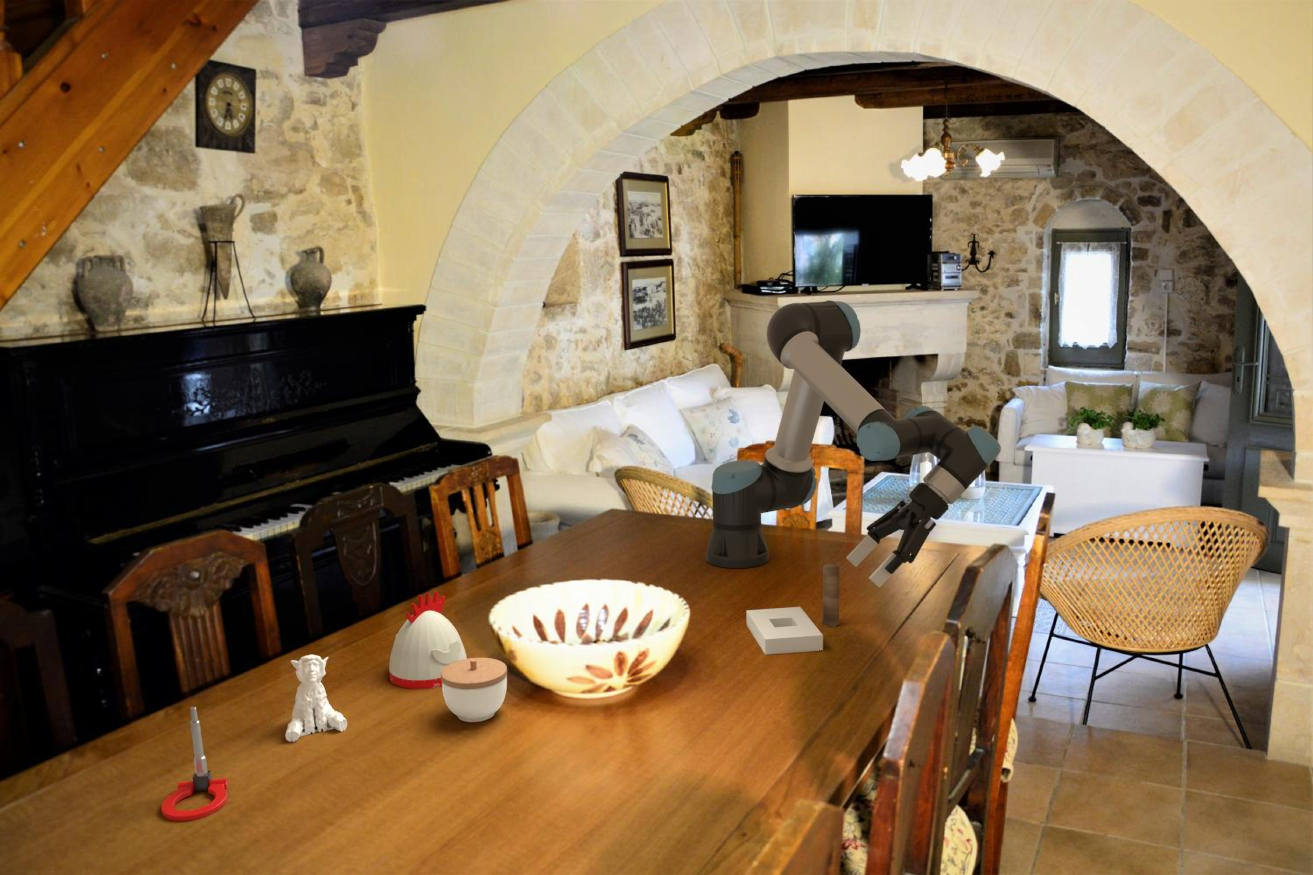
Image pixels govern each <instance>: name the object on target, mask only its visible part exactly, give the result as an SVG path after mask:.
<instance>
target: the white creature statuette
mask: <svg viewBox="0 0 1313 875" xmlns="http://www.w3.org/2000/svg"><path fill="white" fill-rule="evenodd" d="M328 659H329V656H327V657H325V658H323V659H322V657H321V656H319V655H316V654H309V655H303V656H301V657H300V659H298V660H293V659H291V660H290V663H291V664H292V665H293V668H295V669H296V670H295V674H296V677H297V679H298V681H299V682H300V685H298V686H297V689H296V690H297V691H296V695H295V697H294V699H295V701H294V702H295V703H294V705H293V709H292V714H291V715H292V718H291V720H290V722H288V724H287V728H286V730H285V735H284V736H285V739H286V741H288V742H293V743H295V742H296V741H298V740H299V738H300V737H305V736H309V735H311V733H312V734H315V733H316V732H319V733H322V731H323V732H326V731H330V730H336V731H339V732H341V733H342V732H343V731H346V729H347V727H348V721H347V719H346V717H344V715H343V714H342V713H341V712H339V711H337V710H335V709H334V708H333V707H332V705H331V704H330V702H329V700H328V698H327V696H328V695H327V693H326V692H327V691H326V689H325V687H324V685H323V683H322V682H321V681H322V679H323V677H325V675H327V672H326V670H325V669H326V665H327V661H328ZM316 727H317V729H316Z"/></svg>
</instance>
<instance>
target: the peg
mask: <svg viewBox="0 0 1313 875" xmlns="http://www.w3.org/2000/svg"><path fill="white" fill-rule="evenodd" d="M823 624H824V625H826V626H837V625H839V626H840V565H838V564H835V563H834V564H833V563H829V564H824V565H823V566H822V625H823ZM824 625H823V626H824ZM826 626H825V627H826ZM837 627H838V626H837Z"/></svg>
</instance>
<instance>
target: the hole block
mask: <svg viewBox="0 0 1313 875" xmlns="http://www.w3.org/2000/svg"><path fill="white" fill-rule="evenodd" d="M745 614H746V626H747V628H748V629H749V631H750V633H751V634H752V636H753V637H754V639H755V641H756V642H757V644H758V645H759V647H760V648H761V650H762V652H763V653H764V655H779V654H781V655H782V654H790V653H791V654H794V653H805V652H808V653H809V652H820V651H821V650H822V651H824V635H823V633H822V632H821V631H820V630H819V629H818V627H817V626H816V625H815V623H814V622H813V621H812V620H811V618H810V617H809V616H808V615H807V614H806V612H805V611H804V610H803V608H802V607H801V606H796V607H795V606H793V607H780V608H776V607H775V608H762V609H750V610H746V612H745ZM819 650H820V651H819Z"/></svg>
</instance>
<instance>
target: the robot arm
mask: <svg viewBox="0 0 1313 875" xmlns="http://www.w3.org/2000/svg"><path fill="white" fill-rule="evenodd" d="M860 338H861V323H860V320H859V318H858V314H857V312H856V311H855V309H854V308H853V307H852V306H851V305H850V304H848V303H847V302H845V301H840V300H830V299H829V300H824V301H815V302H814V301H813V302H793V303H788V304H785V305H783V306H782V307H780V308H779V309H777V310H776V311H775V312H774V313H773V314H772V316H771V318H770V319H769V321H768V324H767V327H766V339H767V340H766V341H767V343H768V348H769V349H770V352H771V353H772V355H773V356H774V357H775V359H776V360H777V361H778V362H779V363H780V364H781V365H782V366H783V368H785V369H787V370H788V369H789V370H793V373H792V376H791V380H790V384H789V388H788V391H787V396H786V400H785V403H784V407H783V410H782V415H781V418H780V422H779V425H778V430H777V434H776V437H775V441H774V445H773V446H772V447H770V448H768V449H767V450H766V452H765V454H764V458H763V461H762V464H761V463H760V462H759V461H756V460H752V459H746V460H745V459H743V460H734V461H728V462H726V463H723V464H720V465H718V466H717V467H715V469H714V471H713V472H712V481H711V482H712V483H711V491H712V499H711V501H712V530H711V534H710V536H709V540H708V543H707V546H706V550H705V560H706V562H707V563H709V564H710V565H712V566H716V567H720V568H726V569H727V568H729V569H745V568H746V569H747V568H754V567H759V566H762V565H765V564H766V563H767V562H769V561H770V560H769V558H770V557H769V556H770V553H769V548H768V544H767V541H766V538H765V536H764V532H763V528H762V514H766V513H770V512H771V513H772V512H776V511H782V510H787V509H788V510H790V509H795V508H798V507H800V506H803V505H806V504H807V503H809V501H811V500H812V498H813V496H814V495H815V493H816V490H817V486H818V485H817V483H818V479H817V478H816V475H817V472H816V470H815V467H814V466H813V461H812V459H811V457H810V456H809V455H810V451H811V448H812V444H813V440H814V437H815V434H816V431H817V427H818V423H819V419H820V415H821V413H822V408H823V405H824V402H825V404H827V405H828V406H829V407H830V408H831V409H832V410H833V411H834V413H836V414H837V416H839V418H841V419H842V421H843V422H845V424H846V425H847V426H848V427H849V428H850V429H851V430H852V431H853V432H854V433H855V434H856V445H857V448H858V449H859V454H860V455H861V456H862V457H863V458H865V459H866V460H868V461H873V462H875V461H877V462H879V461H890V460H892V459H893V460H894V459H898V458H902V457H907V456H908V457H910V456H915V455H920V454H921V455H922V454H925V453H926V454H927V453H928V454H931V455H933V456H934V457H935V458H937V459H938V460H939V461H938V462H937V463H936V464H935V465H934V466H933V467H932V468H931V469H930V471H928V473H927V474H925V476H924V477H923V478H922V479H923V480H922V481H923V482H919V483H918V484H917V485H916V486H915V487H914V488H913V489H912V490H910V492H909V494H908V497H909V498H910V500H911V502H910V503H908V504H907V502H905V501H904V499H902V500H901V501H899V502H898V503H897V504H896V505H895V506H894V507H892V509H890V510H889V511H887V512H886V513H885V514H883V515H881V516H880V517H878V518H877V519H876V520H875V521H873V522H871V523H870V524H869V525H867V527H866V530H867V533H866V534H867V535H866V536H865V537H864V538H863V539H862V540H861V541H860V542H859V543H858V544H857V545H856V546H855V547H854V549H853V550H851V552H850V553H849V554H848V555H847V556H846V560H848V562H850V564H852V565H853V566H854V567H855V568H857V567H858V566H859V565H860V564H861V563H862V562H863V561H864V559H865V558H866V557H868V555H869V554H870V553H871V552H872V551H873V550H874V549H875V548H876V547H877V545H880V543H881V540H882V539H884V538H886V537H888V536H890V535H892V534H894V533H896V532H897V531H903V532H902V535H901V537H900V540H899V543H898V546H897V548H896V549H895V550H893V551H892V553H890V554H889V556H887V558H886V559H885V560H884V561H883V562H882V563H881V564H880V565H879V566H878V567H877V568H876V570H874V572H872V573H871V574H870V576H869V577H868V580H869V579H870V581H871V582H872V583H873V584H874V585H876V586H877V587H878V588H881V587H882V586H883V585H884V584H885V583H886V582H887V581H888V579H889V578H890V577H891V576H893V574H894V573H895V572H896V571H897V570H898V569H899V568H900V567H901V566H902V565H903V564H906V563H909V564H913V563H914V561H916V560H915V559H916V558H917V556H918V554H919V552H920V551H921V549H922V548H923V545H924V543H926V540H927V538H928V537H929V535H930V534H931V532H932V531H933V529H935V527H936V526H937V523H936V521H938V520H940V518H942V517H943V515H944V514H945V513H946V512H947V511H948V510H949V505H953V504H955V502H956V501H957V500H958V499H961V498H962V497H963V496H962V495H963V493H965V491H966V490H967V489H968V488H969V487H970V486H971V485H972V484H973V483H974V482H975V481H976V480H977V479H978V477H980V476H981V475H982V473H983V472H984V471H985V470H986V469H987V468H989V467H990V466H991V464H992V463H993V462H994V460H995V459H996V458H997V457H998V455H999V454H1000V453H1001V452H1002V451H1001V450H1002V446H1001V444H1000V443H999V441H998V440H997V439H996V438H995V437H994V436H993V435H992V434H991V433H990V432H989V431H987V430H986V429H985V428H983V427H982V426H979V425H976V424H975V425H972V426H971V427H970V428H968V429H967V430H965V429H963V428H961V427H960V426H958V425H957V424H956V423H954V422H952V420H950V419H949V418H947V417H945V416H944V415H943V414H942V413H941V412H939V411H938V410H935V409H933V408H931V407H929V406H928V405H920V406H917V407H916V408H915V409H911V411H910V412H909V413H907V415H906V417H905V418H895V417H894V416H893V415H892V414H891V413H890V412H889V411H887V409H885V408H884V407H883V406H882V404H880V402H878V401H877V399H875V397H873V396H872V395H871V394H870V393H869V392H868V391H867V390H866V388H864V387H863V386H862V385H861V384H860V383H859V382H858V381H857V380H856V379H855V378H854V377H853V376H851V374H850V373H849V372H847V371H846V369H845V368H844V367H843V366H842V362H843V359H844V356H845V353H846V352H847V353H848V352H851V351H852V350H853V349H854V348H856V347H857V345H858V344H859V342H860V340H861V339H860ZM934 520H935V521H934Z"/></svg>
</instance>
